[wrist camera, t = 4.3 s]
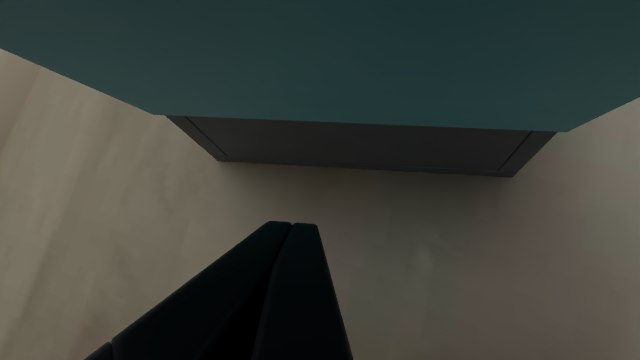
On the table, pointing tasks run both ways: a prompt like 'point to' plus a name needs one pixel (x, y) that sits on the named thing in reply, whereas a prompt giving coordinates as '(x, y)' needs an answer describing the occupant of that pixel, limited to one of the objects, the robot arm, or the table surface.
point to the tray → (366, 145)
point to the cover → (344, 58)
